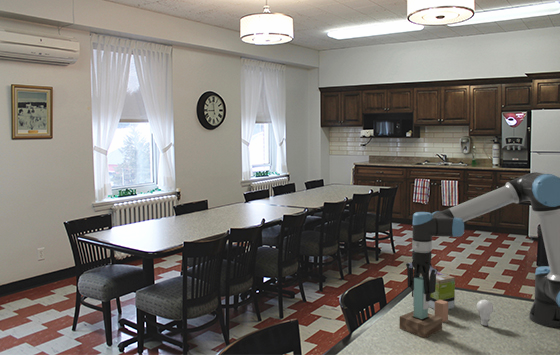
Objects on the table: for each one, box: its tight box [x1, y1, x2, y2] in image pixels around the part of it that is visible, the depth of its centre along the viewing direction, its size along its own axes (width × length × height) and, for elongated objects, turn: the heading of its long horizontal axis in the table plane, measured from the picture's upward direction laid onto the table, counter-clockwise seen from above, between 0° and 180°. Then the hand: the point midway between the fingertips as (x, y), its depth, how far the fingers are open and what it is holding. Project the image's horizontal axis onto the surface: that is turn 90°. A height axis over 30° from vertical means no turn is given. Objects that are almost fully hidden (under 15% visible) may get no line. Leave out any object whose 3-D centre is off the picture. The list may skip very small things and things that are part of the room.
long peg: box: [413, 276, 429, 319], centre depth 187 cm, size 4×4×16 cm
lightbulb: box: [476, 298, 494, 327], centre depth 191 cm, size 6×6×11 cm
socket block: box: [399, 310, 443, 339], centre depth 188 cm, size 12×12×5 cm
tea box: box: [420, 270, 456, 310], centre depth 215 cm, size 15×10×15 cm, turn 25°
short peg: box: [434, 300, 449, 323], centre depth 198 cm, size 4×4×8 cm
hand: (420, 306), depth 188 cm, fingers closed on long peg, 4 cm apart
